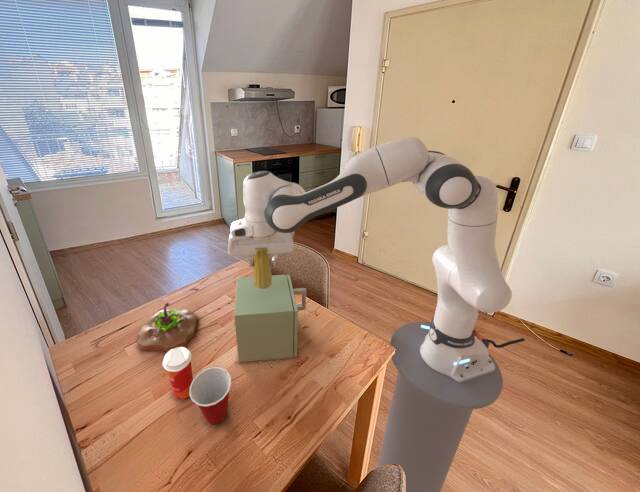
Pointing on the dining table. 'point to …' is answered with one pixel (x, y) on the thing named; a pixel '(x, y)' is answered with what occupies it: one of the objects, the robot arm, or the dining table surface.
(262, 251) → the vase
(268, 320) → the cupboard
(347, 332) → the dining table surface
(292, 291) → the cupboard door
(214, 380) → the plastic cup
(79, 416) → the dining table surface
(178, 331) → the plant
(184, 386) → the paper cup
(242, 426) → the dining table surface
